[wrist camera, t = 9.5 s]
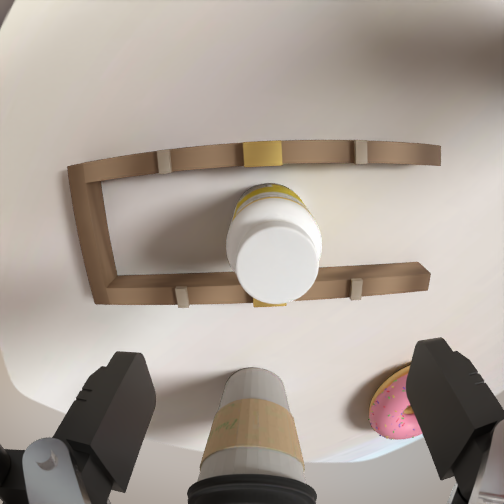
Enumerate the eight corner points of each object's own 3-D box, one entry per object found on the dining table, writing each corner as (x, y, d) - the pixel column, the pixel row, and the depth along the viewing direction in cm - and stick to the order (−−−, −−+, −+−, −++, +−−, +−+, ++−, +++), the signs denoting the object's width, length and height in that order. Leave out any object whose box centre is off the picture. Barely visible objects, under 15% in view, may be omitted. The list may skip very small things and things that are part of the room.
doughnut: (435, 413, 33) (446, 435, 29) (357, 428, 33) (363, 454, 29) (462, 347, 29) (479, 369, 25) (373, 360, 29) (385, 388, 25)
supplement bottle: (289, 260, 26) (303, 330, 16) (224, 236, 25) (203, 296, 16) (317, 198, 24) (351, 237, 15) (249, 170, 23) (242, 193, 14)
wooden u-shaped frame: (425, 143, 22) (444, 145, 19) (415, 278, 26) (430, 294, 23) (83, 162, 23) (62, 166, 20) (106, 291, 27) (92, 308, 24)
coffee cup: (208, 348, 29) (177, 490, 15) (310, 356, 29) (335, 498, 15) (208, 414, 32) (188, 534, 18) (293, 420, 32) (303, 540, 18)
